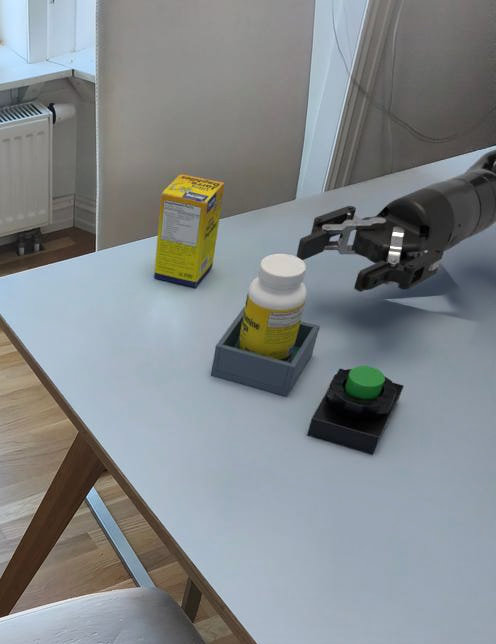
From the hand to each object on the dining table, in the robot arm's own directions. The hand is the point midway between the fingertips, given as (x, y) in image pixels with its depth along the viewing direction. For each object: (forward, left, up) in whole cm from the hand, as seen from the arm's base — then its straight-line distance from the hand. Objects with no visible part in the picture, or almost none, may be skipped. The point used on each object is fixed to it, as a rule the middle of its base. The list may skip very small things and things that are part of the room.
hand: (328, 266), depth 96 cm
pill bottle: (+3, +6, -9) cm, 11 cm away
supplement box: (+19, -8, -10) cm, 23 cm away
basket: (+3, +7, -10) cm, 12 cm away
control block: (-9, +12, -10) cm, 17 cm away
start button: (-9, +12, -6) cm, 16 cm away
